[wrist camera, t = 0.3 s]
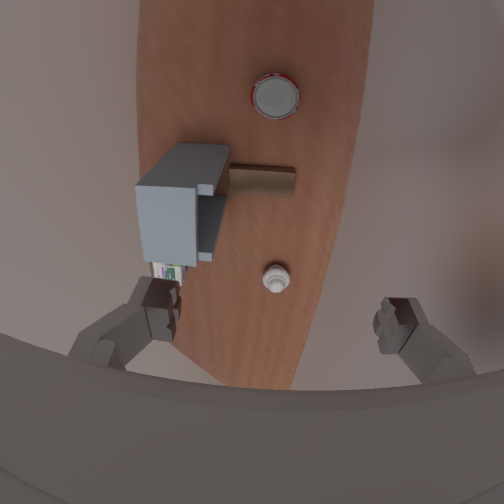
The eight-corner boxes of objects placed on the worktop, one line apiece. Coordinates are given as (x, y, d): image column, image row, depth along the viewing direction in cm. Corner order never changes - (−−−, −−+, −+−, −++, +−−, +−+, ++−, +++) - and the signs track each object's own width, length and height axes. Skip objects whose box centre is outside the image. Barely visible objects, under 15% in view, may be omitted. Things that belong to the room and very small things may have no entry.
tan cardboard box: (231, 163, 56) (229, 168, 53) (293, 167, 56) (295, 173, 53) (230, 186, 58) (228, 193, 56) (291, 190, 58) (292, 198, 56)
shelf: (177, 142, 53) (134, 185, 35) (229, 145, 53) (211, 189, 36) (178, 198, 60) (144, 261, 42) (226, 202, 60) (210, 268, 42)
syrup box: (197, 244, 66) (183, 287, 54) (172, 241, 66) (153, 283, 54) (197, 222, 63) (182, 263, 51) (171, 219, 63) (150, 259, 51)
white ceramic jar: (259, 277, 71) (259, 297, 65) (265, 256, 67) (265, 276, 62) (285, 281, 71) (286, 302, 66) (292, 261, 68) (294, 281, 62)
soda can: (295, 109, 49) (304, 121, 38) (254, 111, 49) (252, 123, 39) (293, 72, 45) (302, 72, 34) (251, 73, 45) (248, 74, 35)
